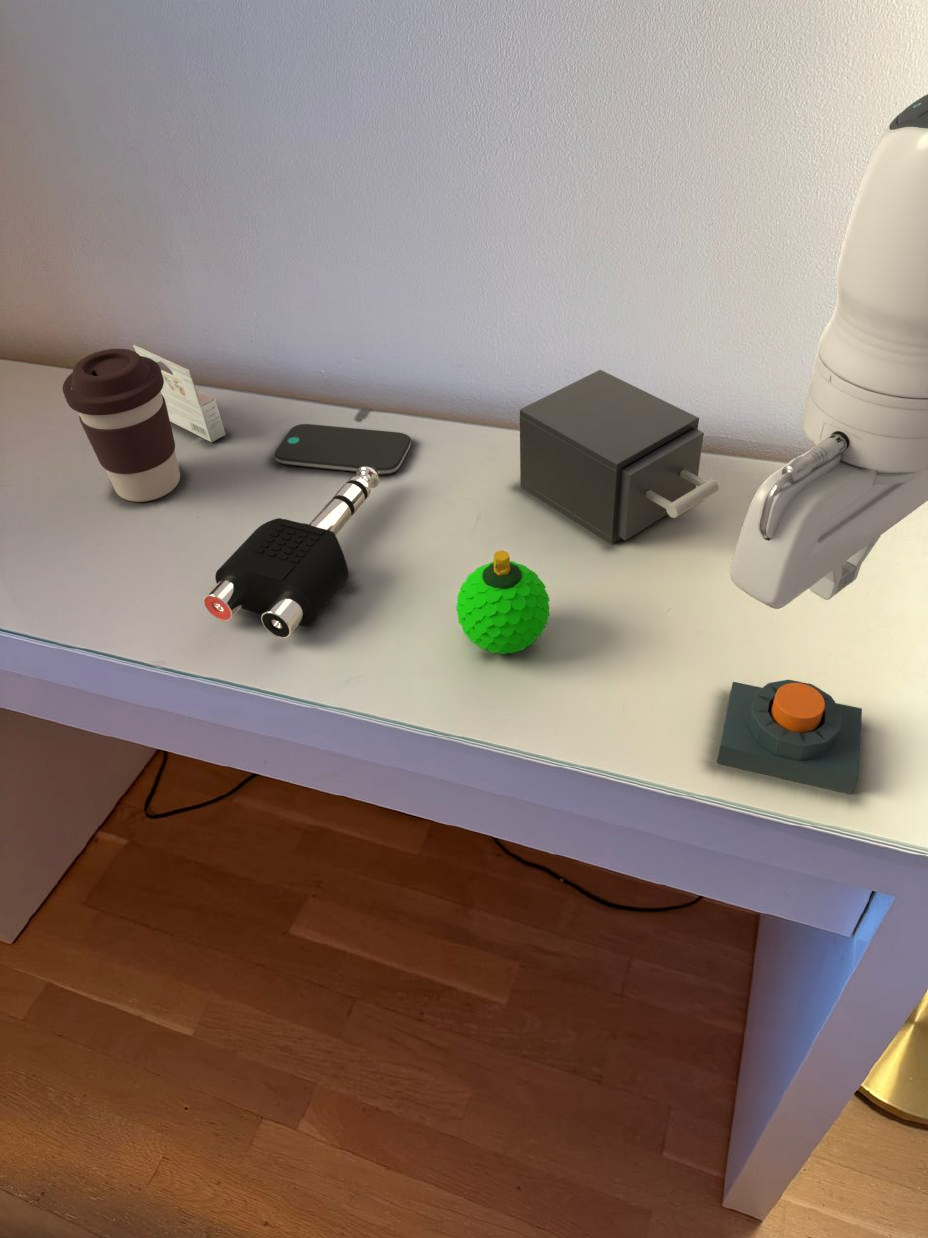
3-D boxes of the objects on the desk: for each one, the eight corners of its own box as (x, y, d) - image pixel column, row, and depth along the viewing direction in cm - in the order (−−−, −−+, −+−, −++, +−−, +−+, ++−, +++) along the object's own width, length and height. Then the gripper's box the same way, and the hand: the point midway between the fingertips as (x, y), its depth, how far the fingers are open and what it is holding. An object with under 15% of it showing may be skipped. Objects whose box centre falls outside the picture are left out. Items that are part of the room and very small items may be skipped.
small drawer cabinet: (688, 497, 98) (699, 417, 91) (611, 544, 93) (617, 464, 86) (595, 445, 106) (600, 368, 99) (520, 486, 101) (519, 409, 94)
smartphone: (294, 421, 111) (414, 432, 108) (295, 428, 111) (414, 439, 108) (269, 457, 106) (395, 470, 102) (270, 463, 106) (395, 476, 103)
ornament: (549, 610, 86) (551, 525, 79) (548, 674, 80) (549, 588, 74) (463, 609, 87) (457, 524, 80) (455, 672, 81) (448, 587, 74)
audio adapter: (190, 580, 84) (328, 437, 100) (204, 622, 88) (335, 478, 104) (293, 609, 80) (419, 456, 96) (303, 652, 84) (423, 498, 100)
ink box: (170, 407, 117) (148, 335, 110) (226, 435, 111) (207, 361, 105) (154, 415, 116) (130, 343, 109) (210, 444, 110) (189, 370, 103)
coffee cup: (200, 457, 108) (164, 337, 98) (184, 508, 101) (144, 384, 91) (116, 462, 108) (71, 343, 98) (94, 513, 101) (43, 391, 91)
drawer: (727, 515, 94) (738, 449, 88) (657, 560, 89) (665, 494, 84) (607, 448, 103) (611, 386, 98) (538, 486, 99) (539, 423, 94)
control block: (855, 726, 75) (867, 692, 72) (851, 794, 70) (863, 762, 67) (728, 699, 77) (736, 666, 75) (716, 763, 73) (723, 730, 70)
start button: (821, 703, 72) (826, 688, 71) (818, 738, 70) (823, 723, 68) (774, 693, 73) (777, 678, 72) (768, 727, 71) (772, 712, 69)
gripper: (825, 504, 46) (772, 689, 56) (1031, 363, 55) (955, 543, 65) (724, 452, 50) (691, 634, 59) (933, 327, 59) (875, 503, 68)
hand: (830, 586), depth 62 cm, fingers closed
